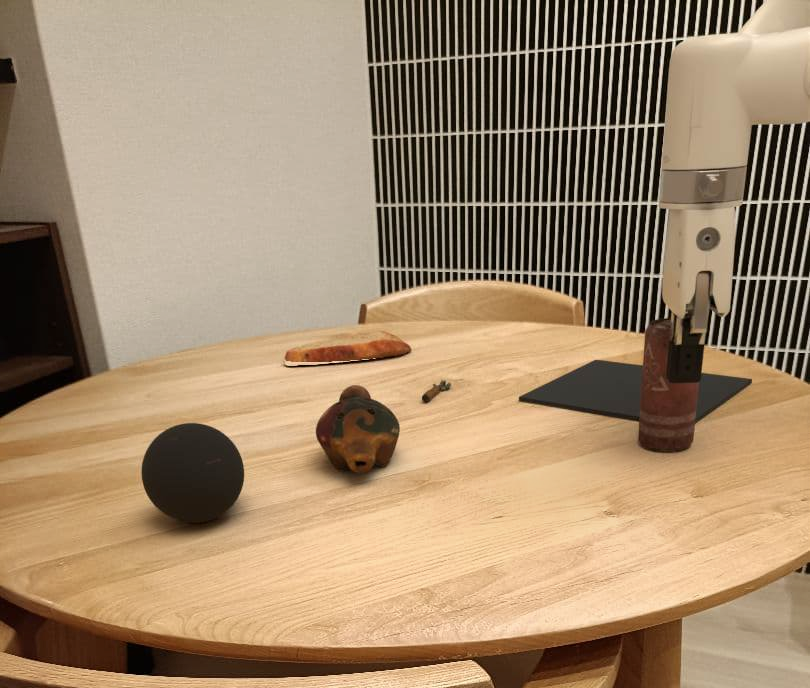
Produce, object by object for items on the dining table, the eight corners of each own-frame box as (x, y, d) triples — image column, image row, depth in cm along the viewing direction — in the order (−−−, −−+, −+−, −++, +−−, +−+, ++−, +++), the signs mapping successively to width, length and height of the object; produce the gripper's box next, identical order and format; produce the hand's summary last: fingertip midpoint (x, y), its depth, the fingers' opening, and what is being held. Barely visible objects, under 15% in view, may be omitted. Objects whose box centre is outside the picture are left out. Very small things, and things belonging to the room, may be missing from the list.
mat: (751, 383, 114) (752, 378, 113) (687, 429, 99) (687, 424, 99) (595, 363, 128) (595, 359, 128) (518, 400, 113) (518, 396, 113)
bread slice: (274, 365, 139) (271, 343, 138) (340, 341, 152) (338, 321, 150) (357, 376, 130) (355, 353, 128) (420, 349, 143) (419, 328, 141)
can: (686, 456, 91) (698, 330, 85) (630, 448, 94) (638, 326, 88) (701, 439, 95) (714, 318, 89) (647, 432, 99) (656, 314, 92)
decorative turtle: (389, 437, 103) (389, 375, 99) (411, 490, 90) (411, 422, 86) (312, 442, 102) (308, 380, 98) (323, 497, 89) (319, 428, 85)
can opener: (428, 402, 114) (427, 394, 114) (413, 401, 115) (412, 393, 115) (455, 385, 121) (454, 377, 121) (440, 384, 123) (440, 376, 122)
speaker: (230, 541, 79) (213, 443, 75) (135, 538, 81) (112, 443, 77) (263, 499, 88) (250, 409, 84) (177, 497, 90) (159, 410, 85)
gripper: (765, 193, 70) (738, 401, 78) (723, 182, 83) (704, 361, 91) (675, 197, 71) (657, 403, 79) (647, 186, 84) (635, 363, 92)
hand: (682, 380), depth 85 cm, fingers closed
